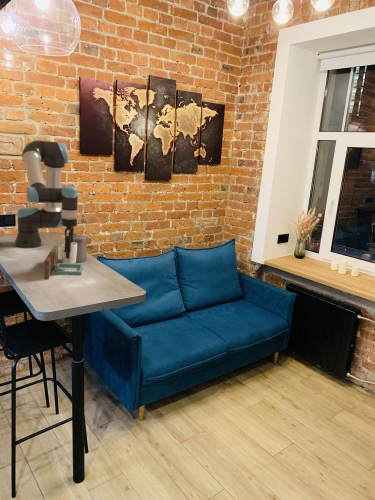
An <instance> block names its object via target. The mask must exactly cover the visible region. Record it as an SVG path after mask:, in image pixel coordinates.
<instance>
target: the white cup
mask: <svg viewBox="0 0 375 500" xmlns="http://www.w3.org/2000/svg"><path fill="white" fill-rule="evenodd" d="M64 250H65V241H62V242H61V243H60V251H61V254H60V255H61V262H62V263H64V264H65V252H64ZM76 255H77V243H76V242H72V243H71V264H77V263H76Z"/></svg>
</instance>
